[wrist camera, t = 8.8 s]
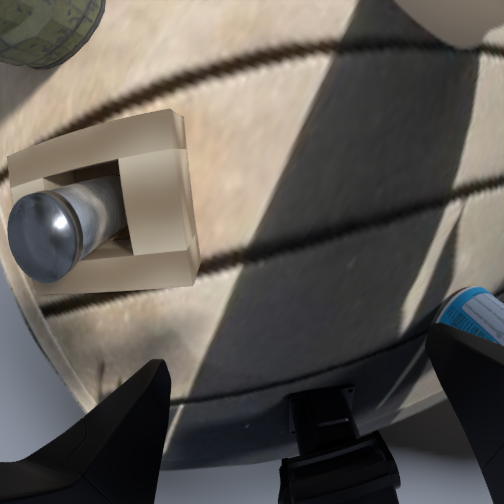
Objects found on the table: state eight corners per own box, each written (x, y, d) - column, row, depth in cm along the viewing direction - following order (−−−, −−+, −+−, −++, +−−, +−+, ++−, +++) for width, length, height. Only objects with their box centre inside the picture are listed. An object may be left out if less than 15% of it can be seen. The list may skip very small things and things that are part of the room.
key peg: (142, 228, 20) (83, 281, 11) (92, 234, 20) (20, 284, 11) (133, 168, 19) (62, 185, 10) (82, 179, 19) (0, 202, 10)
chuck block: (201, 261, 21) (192, 286, 17) (62, 273, 21) (37, 295, 17) (183, 116, 18) (169, 108, 14) (39, 152, 18) (7, 156, 14)
